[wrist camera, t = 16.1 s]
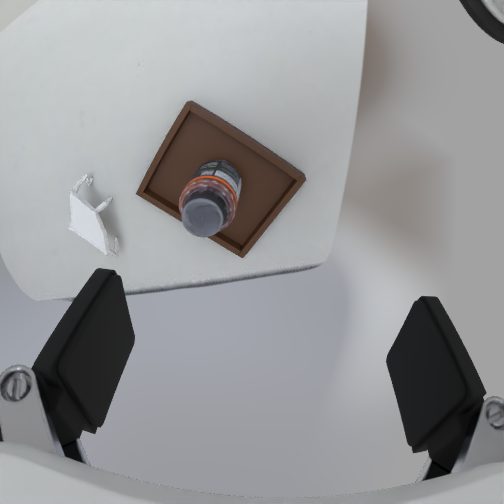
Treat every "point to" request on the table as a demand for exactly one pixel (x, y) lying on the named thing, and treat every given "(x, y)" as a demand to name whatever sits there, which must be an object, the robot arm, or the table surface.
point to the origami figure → (90, 220)
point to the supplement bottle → (210, 198)
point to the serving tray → (234, 151)
